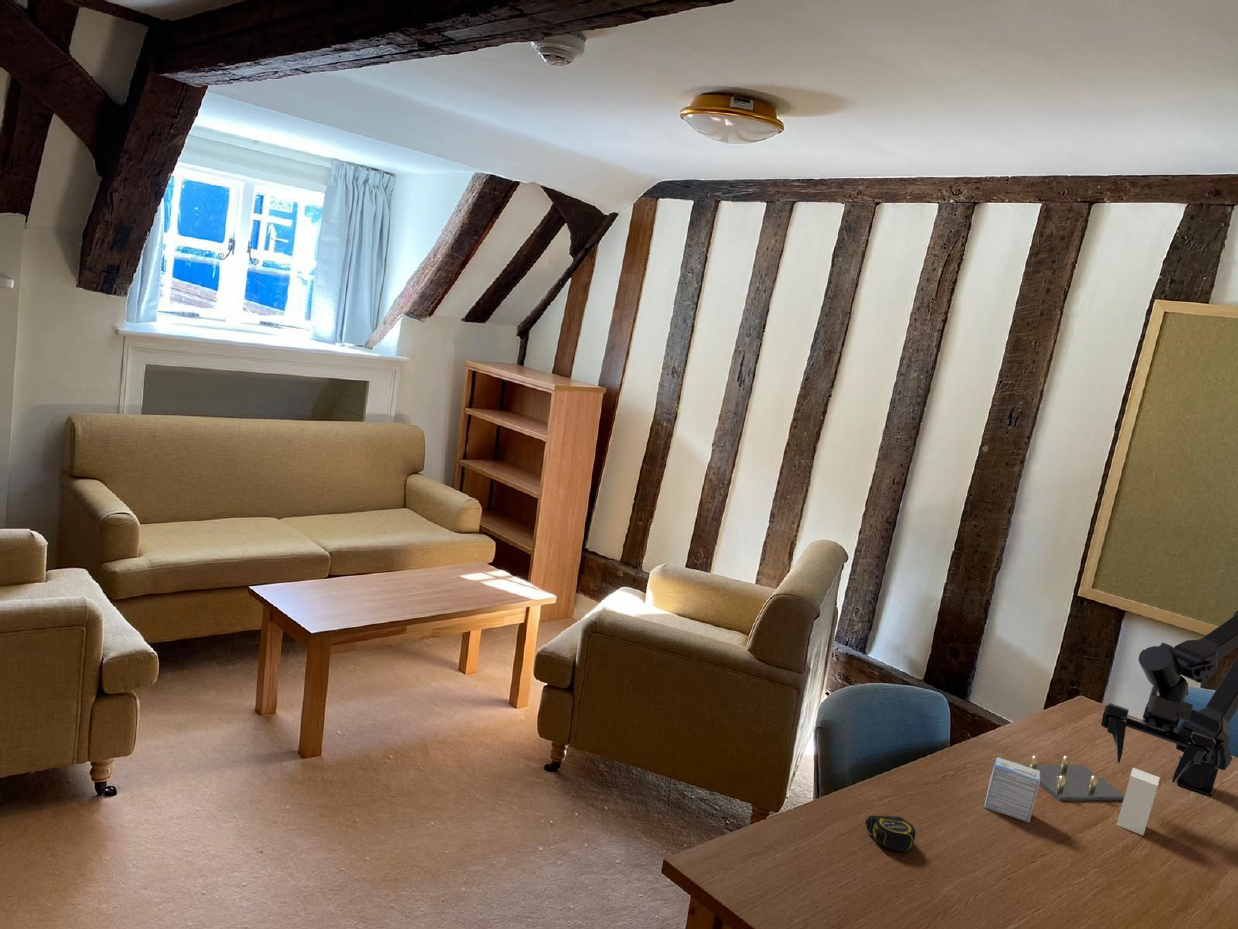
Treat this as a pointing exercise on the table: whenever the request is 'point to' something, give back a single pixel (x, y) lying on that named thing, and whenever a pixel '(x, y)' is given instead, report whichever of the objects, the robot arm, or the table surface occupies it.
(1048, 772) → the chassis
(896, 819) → the tape measure
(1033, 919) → the table surface
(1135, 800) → the block
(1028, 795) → the medicine box
